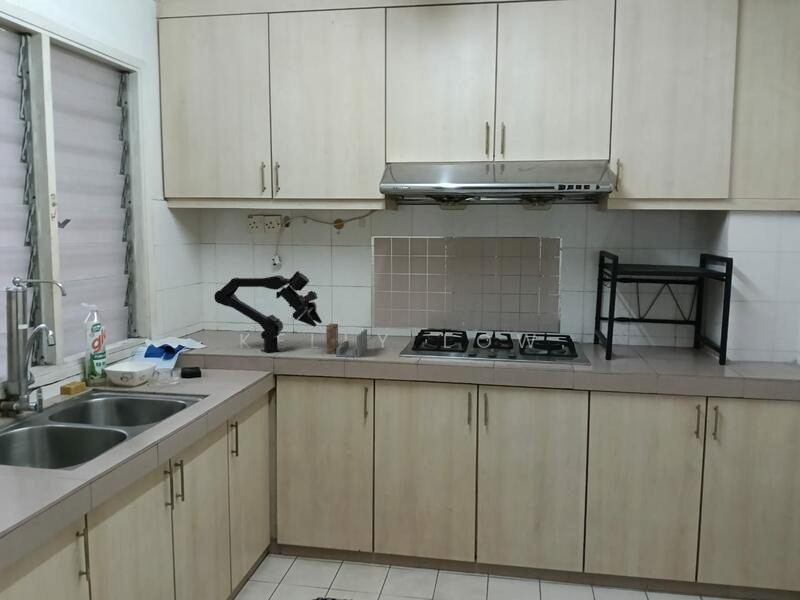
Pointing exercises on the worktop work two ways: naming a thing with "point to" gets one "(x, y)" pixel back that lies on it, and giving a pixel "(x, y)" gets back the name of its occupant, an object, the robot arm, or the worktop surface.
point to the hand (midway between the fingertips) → (318, 324)
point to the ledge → (353, 351)
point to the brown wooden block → (332, 338)
